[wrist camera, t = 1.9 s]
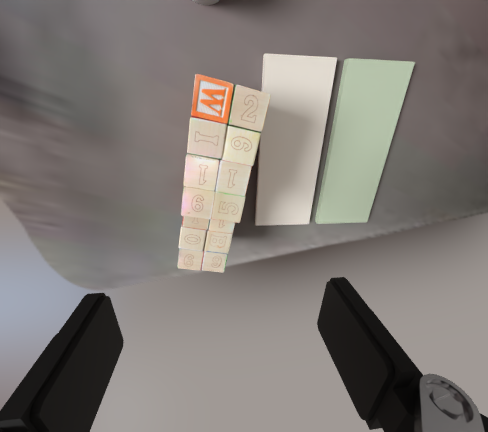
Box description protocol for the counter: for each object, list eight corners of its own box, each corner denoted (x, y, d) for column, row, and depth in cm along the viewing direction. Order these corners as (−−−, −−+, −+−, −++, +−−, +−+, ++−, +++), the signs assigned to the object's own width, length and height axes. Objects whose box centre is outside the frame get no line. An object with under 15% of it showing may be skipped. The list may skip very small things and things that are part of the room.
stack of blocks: (222, 237, 37) (224, 290, 26) (184, 232, 36) (170, 285, 25) (251, 99, 29) (273, 92, 18) (204, 87, 28) (195, 71, 17)
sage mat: (408, 63, 29) (415, 61, 28) (363, 219, 39) (367, 222, 38) (344, 59, 28) (348, 58, 27) (315, 221, 38) (317, 223, 37)
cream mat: (333, 59, 28) (337, 57, 27) (306, 221, 38) (308, 223, 37) (263, 55, 27) (265, 53, 26) (254, 222, 37) (255, 225, 36)
